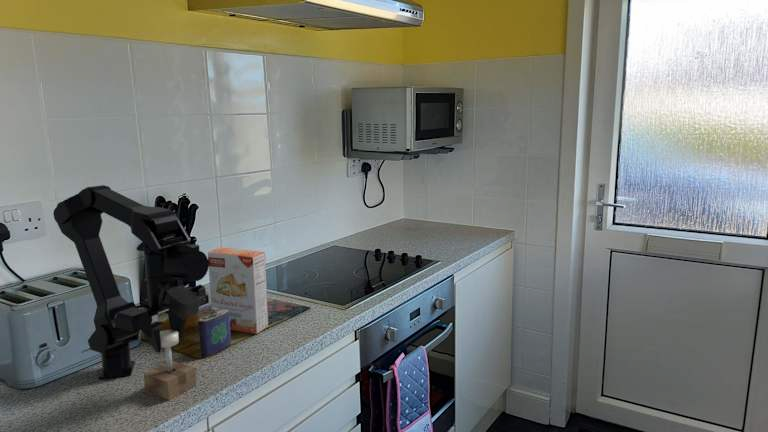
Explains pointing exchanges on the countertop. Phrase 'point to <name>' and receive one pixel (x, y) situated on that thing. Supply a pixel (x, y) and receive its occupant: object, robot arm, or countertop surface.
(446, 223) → the countertop surface
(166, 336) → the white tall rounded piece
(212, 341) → the flask
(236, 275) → the cracker box
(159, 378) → the block
